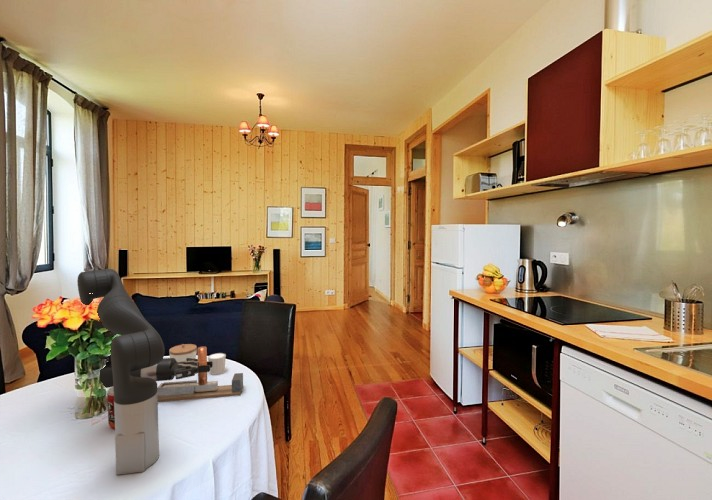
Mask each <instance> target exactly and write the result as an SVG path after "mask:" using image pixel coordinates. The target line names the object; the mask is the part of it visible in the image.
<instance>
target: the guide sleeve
mask: <svg viewBox="0 0 712 500" xmlns="http://www.w3.org/2000/svg"><path fill="white" fill-rule="evenodd" d="M197 382H198V379H195V380H181V381H168V382H166V381H163V382H161V383H160V384H159V385H157V393H158V397H160V398H161V397H174V396H186V395H194V385H185V386H171V387H163V386H164V385H169V384H183V383H197Z"/></svg>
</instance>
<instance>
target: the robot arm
mask: <svg viewBox="0 0 712 500" xmlns="http://www.w3.org/2000/svg"><path fill="white" fill-rule="evenodd" d="M77 291H78V295H79V300H80V303H81V302H82V303H83V304H85V305H89V304H90V303H91V302H92V301H93V302H94V299H100V298H102V299H101V300H100V302H99V303H98V306H97V307H96V309H97V313H98V316H99V318H100V320H101V322H102V323H101V322H98V321H94V326H95V328H103V327H105V328H106V329H108V330H109V331H111V334H109V332H108V333H105V336H107V337H109V336H111V337H112V336H114V335H115V334H116V337H115V338H114V339H113V340H112V343H111V350H110V352H111V355H110V356H108V357H109V362H107V363H106V366H105V367H104V368H103V369H101V370H100V380H101V382H102V383H103V385H104V386H105V387H106V388H105V389H107V388H108V389H109V388H112V387H113V389H114V412H115V413H114V414H115V429H114V436H115V437H114V440H115V441H114V444H115V447H114V448H115V451H114V452H115V475H125V474H134V473H143V472H145V471H146V469H147V468H149V467H151V466H152V465H153V464H155V462H156V461H158V459H159V457H160V439H159V438H160V437H159V435H160V434H159V432H160V431H159V405H158V404H159V402H158V393H157V388H158V383H157V382H162V381H163V382H166V381H172V380H174V379H175V380H180V379H185V378H190V377H194V376H196V374H197V375H198V372H199V373H200V372H207V373H210V368H212V366H213V362H212V361H208V360H207V365H203V366H199V367H198V358H195V359H194V358H187V359H186V361H181V362H176V359H175V358H170V357H166V358H165V357H164V356H165V352H166V351H165V350H166V349H165V344H164V342H163V339H162V337H161V335H160V333H158V331H157V330H156V329H155V328H154V327H153V326H152V324H151V323H149V322H148V320H146V318H145V317H144V315H143V314H142V313H141V311H140V309H139V307H138V305H137V304H136V302H135V300H133V299H132V297H131V296H130V294H129V293H128V292H127V290H126V288H125V286H124V284H123V281H122V278H121V277H120V275H119V273H118V271H116V270H115V269H112V268H104V269H95V270H94V269H93V270H89V271H88V270H87V271H80V273H79V274H78V275H77ZM89 293H91V294H89ZM92 293H93V294H92ZM108 357H103V356H99V358H100V359H107V358H108Z"/></svg>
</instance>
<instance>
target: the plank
mask: <svg viewBox="0 0 712 500" xmlns="http://www.w3.org/2000/svg"><path fill="white" fill-rule="evenodd" d="M243 389H244V386H243V387H242V390H241V392H236V393H232V384H227V385H226V384H225V385H218V388H217V390H215V391H202V392H194V395H186V396H174V397H161V398H160V397H158V403H164V402H175V401H176V402H178V401H189V400H200V399H203V400H204V399H212V398H215V399H216V398H225V397H228V398H229V397H237V396H241V394H242V393H243Z"/></svg>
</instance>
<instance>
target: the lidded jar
mask: <svg viewBox="0 0 712 500" xmlns="http://www.w3.org/2000/svg"><path fill="white" fill-rule="evenodd" d="M197 348H198V347H197V345H196V344H192V343H187V344H186V343H185V344H184V343H181V344H178V345H175V346H173V347H171V348H169V350H168V352H169V358H175V359H176V362H181V361H186V359H187V358H194V359H197V354H198V350H197Z"/></svg>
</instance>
